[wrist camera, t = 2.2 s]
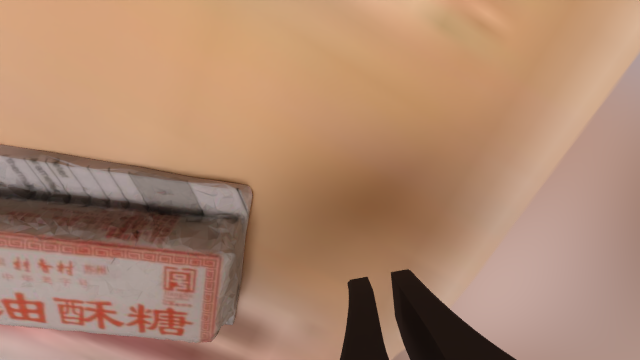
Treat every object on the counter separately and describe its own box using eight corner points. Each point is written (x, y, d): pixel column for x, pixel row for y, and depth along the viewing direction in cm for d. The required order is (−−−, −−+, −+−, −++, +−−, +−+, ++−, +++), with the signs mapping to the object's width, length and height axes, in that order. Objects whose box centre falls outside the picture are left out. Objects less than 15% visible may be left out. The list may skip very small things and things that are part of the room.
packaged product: (245, 221, 15) (224, 377, 19) (255, 178, 19) (237, 311, 23) (-261, 156, 12) (-167, 353, 16) (-115, 122, 17) (-68, 283, 20)
